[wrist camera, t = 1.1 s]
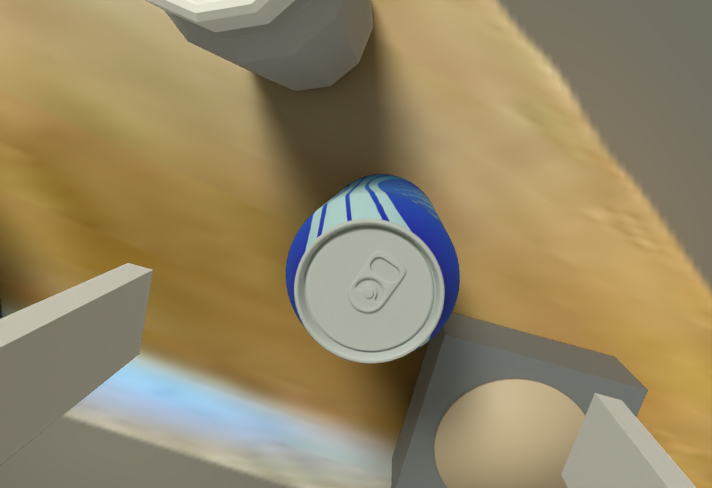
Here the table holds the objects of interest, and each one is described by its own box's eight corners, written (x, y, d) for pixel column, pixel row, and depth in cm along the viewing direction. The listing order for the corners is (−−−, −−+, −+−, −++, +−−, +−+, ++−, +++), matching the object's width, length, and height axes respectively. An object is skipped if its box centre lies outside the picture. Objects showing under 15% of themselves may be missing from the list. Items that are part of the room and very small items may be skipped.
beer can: (449, 265, 36) (487, 358, 21) (345, 293, 37) (307, 400, 22) (420, 159, 35) (438, 172, 19) (313, 191, 36) (247, 228, 20)
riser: (392, 459, 40) (391, 505, 35) (439, 309, 37) (445, 336, 32) (553, 504, 40) (576, 559, 34) (614, 356, 36) (650, 392, 31)
